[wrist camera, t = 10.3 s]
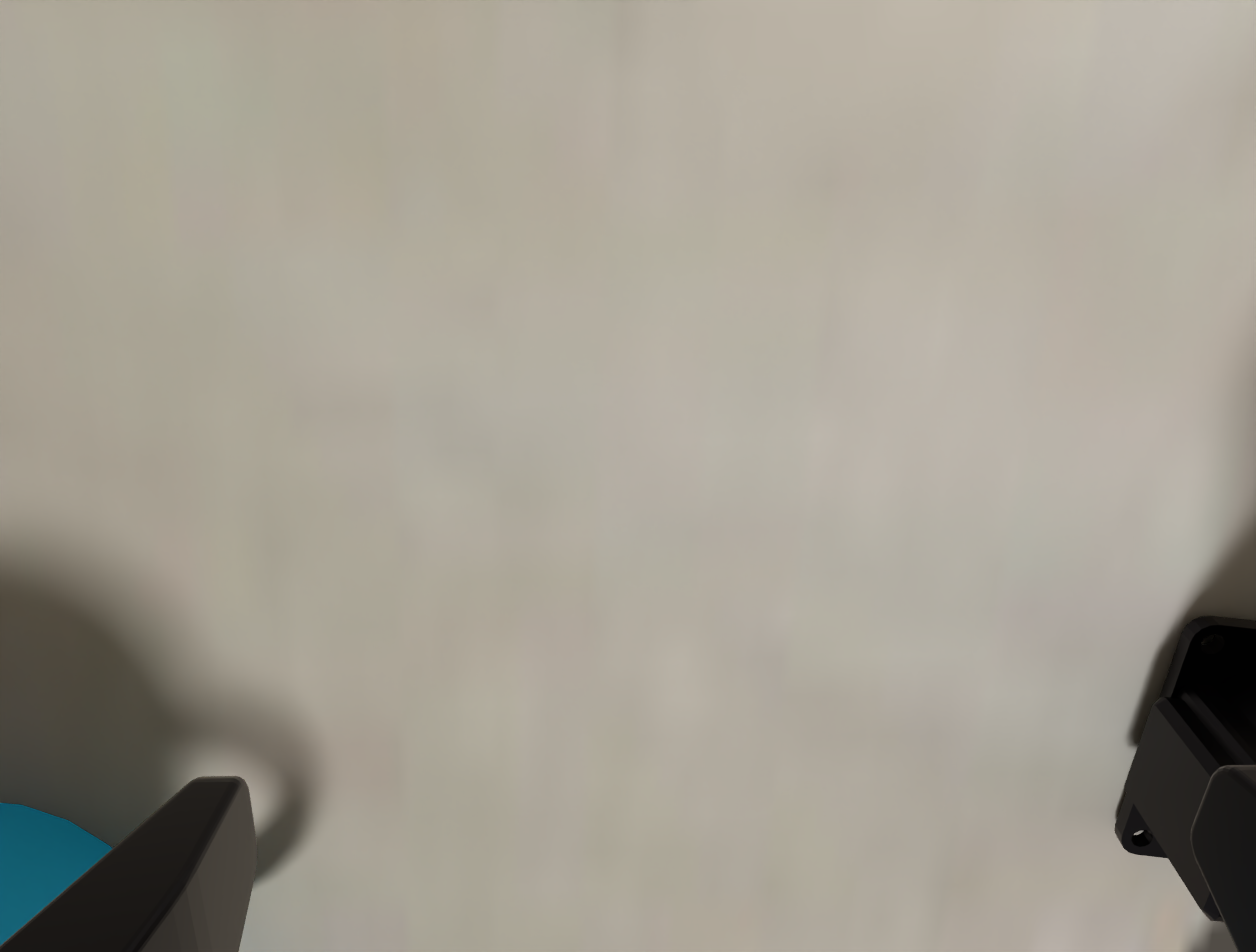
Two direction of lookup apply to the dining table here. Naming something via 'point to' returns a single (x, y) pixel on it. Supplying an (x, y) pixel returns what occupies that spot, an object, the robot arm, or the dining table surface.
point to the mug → (39, 862)
